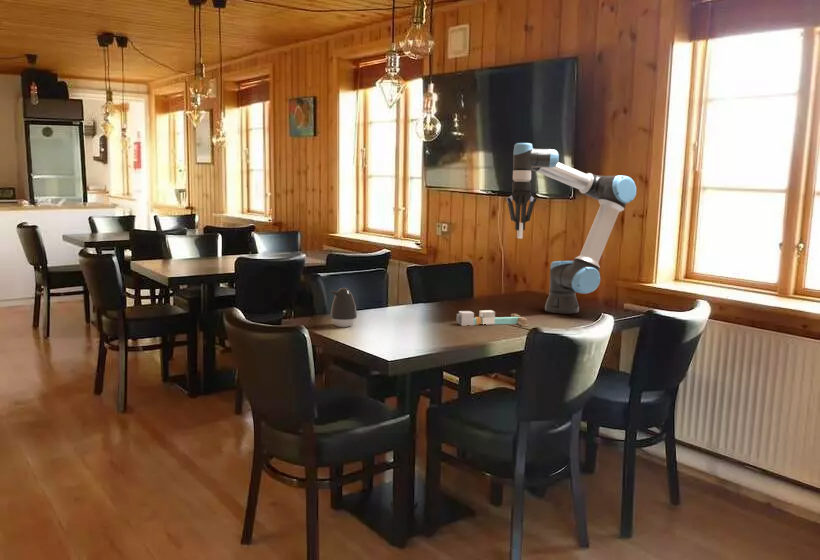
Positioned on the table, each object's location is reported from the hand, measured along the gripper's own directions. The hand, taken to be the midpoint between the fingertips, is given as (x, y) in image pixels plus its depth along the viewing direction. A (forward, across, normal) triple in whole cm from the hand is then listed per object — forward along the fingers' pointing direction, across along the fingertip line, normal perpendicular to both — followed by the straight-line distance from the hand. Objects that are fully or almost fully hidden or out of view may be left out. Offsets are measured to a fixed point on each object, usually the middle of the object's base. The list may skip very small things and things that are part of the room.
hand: (519, 238), depth 296 cm
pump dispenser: (+35, +74, +6) cm, 82 cm away
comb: (+34, +2, +8) cm, 35 cm away
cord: (+34, +15, +8) cm, 38 cm away
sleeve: (+34, +16, +8) cm, 39 cm away
